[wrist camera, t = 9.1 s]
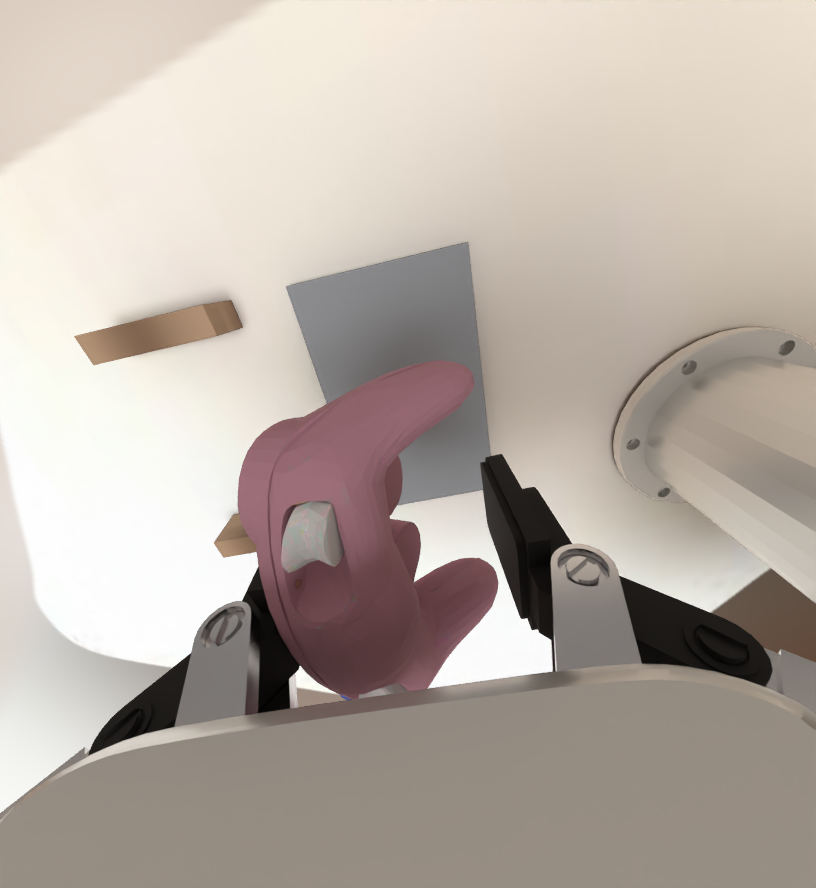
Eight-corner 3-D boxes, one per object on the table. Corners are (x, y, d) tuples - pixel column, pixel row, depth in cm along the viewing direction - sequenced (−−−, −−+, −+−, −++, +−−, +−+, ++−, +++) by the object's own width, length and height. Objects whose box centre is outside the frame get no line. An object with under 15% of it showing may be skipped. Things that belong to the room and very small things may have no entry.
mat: (465, 242, 17) (467, 241, 17) (491, 483, 25) (493, 487, 24) (289, 286, 18) (285, 286, 18) (365, 506, 25) (364, 511, 25)
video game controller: (347, 357, 11) (133, 477, 6) (480, 342, 9) (340, 507, 4) (407, 558, 16) (320, 729, 10) (504, 577, 14) (458, 804, 8)
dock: (231, 300, 18) (202, 304, 16) (323, 513, 26) (314, 541, 23) (119, 327, 19) (73, 336, 16) (241, 528, 26) (223, 557, 24)
